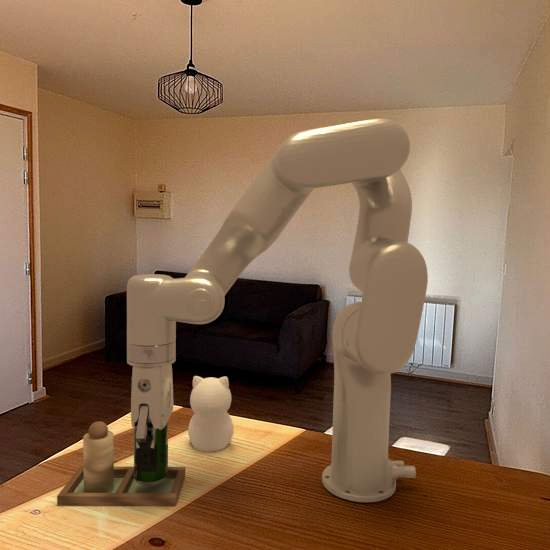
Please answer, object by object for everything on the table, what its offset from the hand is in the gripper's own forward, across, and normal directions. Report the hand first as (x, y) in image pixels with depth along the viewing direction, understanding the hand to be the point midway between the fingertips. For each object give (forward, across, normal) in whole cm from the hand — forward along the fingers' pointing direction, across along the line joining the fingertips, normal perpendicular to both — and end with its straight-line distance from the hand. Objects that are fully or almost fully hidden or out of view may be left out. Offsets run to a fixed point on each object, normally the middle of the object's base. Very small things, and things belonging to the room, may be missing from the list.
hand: (151, 460), depth 80 cm
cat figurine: (+6, +19, -8) cm, 21 cm away
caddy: (+6, 0, +4) cm, 7 cm away
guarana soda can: (+3, 0, 0) cm, 3 cm away
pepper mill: (+5, 0, +8) cm, 10 cm away
